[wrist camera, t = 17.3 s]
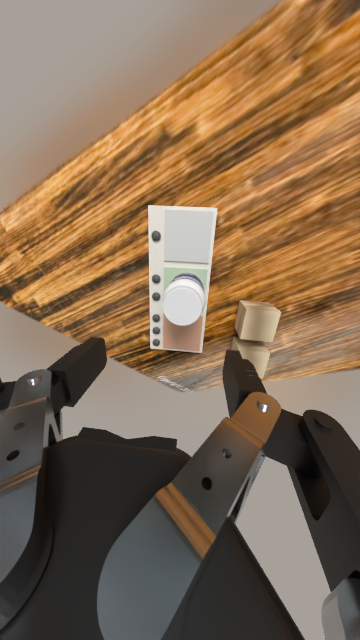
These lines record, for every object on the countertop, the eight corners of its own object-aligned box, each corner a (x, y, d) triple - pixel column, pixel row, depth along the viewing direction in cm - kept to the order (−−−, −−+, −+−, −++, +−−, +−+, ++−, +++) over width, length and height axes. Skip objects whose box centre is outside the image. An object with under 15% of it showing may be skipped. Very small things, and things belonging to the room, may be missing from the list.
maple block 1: (268, 302, 31) (281, 312, 27) (262, 329, 33) (272, 342, 28) (239, 300, 32) (246, 308, 27) (234, 326, 33) (240, 338, 29)
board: (216, 209, 27) (217, 207, 26) (201, 350, 36) (201, 353, 35) (149, 206, 27) (147, 204, 26) (151, 345, 36) (150, 349, 35)
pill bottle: (187, 312, 32) (183, 339, 23) (162, 290, 31) (147, 308, 21) (211, 288, 30) (217, 306, 21) (185, 264, 29) (179, 271, 20)
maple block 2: (260, 339, 34) (270, 353, 29) (254, 361, 36) (262, 378, 31) (233, 336, 34) (238, 350, 30) (228, 358, 36) (233, 375, 31)
